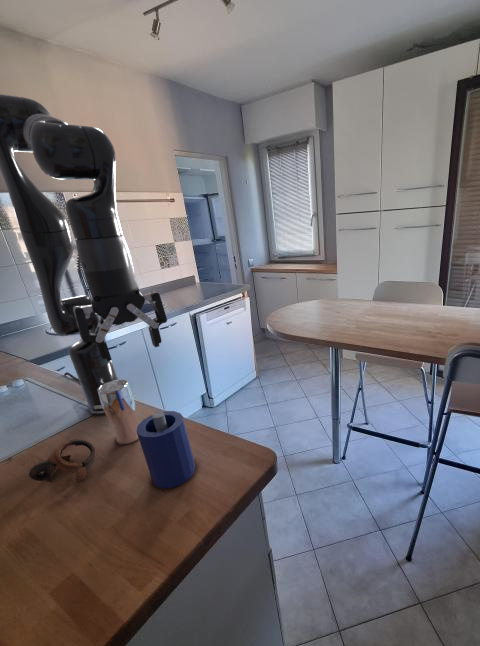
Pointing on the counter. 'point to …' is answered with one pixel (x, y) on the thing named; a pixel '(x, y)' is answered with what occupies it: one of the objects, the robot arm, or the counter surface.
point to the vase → (167, 450)
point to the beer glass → (120, 409)
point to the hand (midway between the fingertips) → (133, 352)
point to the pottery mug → (64, 463)
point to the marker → (159, 421)
